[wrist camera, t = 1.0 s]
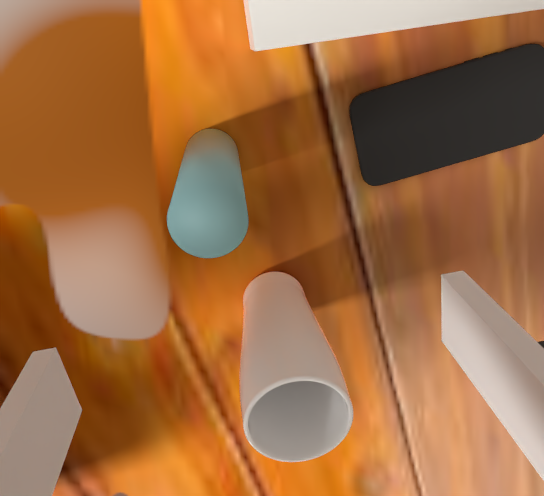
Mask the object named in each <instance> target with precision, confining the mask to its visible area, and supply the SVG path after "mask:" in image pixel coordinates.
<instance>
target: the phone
mask: <svg viewBox="0 0 544 496" xmlns="http://www.w3.org/2000/svg"><path fill="white" fill-rule="evenodd" d="M349 112H350V119H351V124H352V129H353V134H354V139H355V144H356V149H357V154H358V159H359V164H360V169H361V174H362V177H363V179H364V180H365V181H366V182H367V183H368V184H369V185H372V186H379V185H383V184H387V183H390V182H393V181H397V180H400V179H404V178H407V177H411V176H414V175H418V174H421V173H424V172H428V171H431V170H435V169H438V168H442V167H445V166H449V165H452V164H455V163H459V162H462V161H466V160H469V159H473V158H476V157H480V156H483V155H486V154H490V153H493V152H497V151H500V150H504V149H507V148H511V147H514V146H517V145H521V144H524V143H528V142H531V141H534V140H536V139H538V138H540V137H541V136H542V135H543V134H544V48H543V47H542V46H541V45H538V44H526V45H522V46H519V47H515V48H510V49H507V50H505V51H502V52H499V53H498V52H496V53H493V54H489V55H486V56H483V57H482V58H476V59H472V60H469V61H466V62H464V63H462V64H458V65H455V66H452V67H448V68H445V69H442V70H438V71H435V72H431V73H428V74H425V75H421V76H418V77H415V78H411V79H408V80H405V81H401V82H398V83H395V84H391V85H388V86H385V87H381V88H378V89H374V90H371V91H368V92H365V93H362V94H360V95H358V96H356V97H355V98H354V99H353V100H352V102H351V104H350V109H349Z"/></svg>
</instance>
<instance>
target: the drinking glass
mask: <svg viewBox="0 0 544 496" xmlns="http://www.w3.org/2000/svg"><path fill="white" fill-rule="evenodd" d="M243 309H244V315H243V332H242V346H241V359H240V380H239V382H240V403H241V412H242V420H243V428H244V433H245V435H246V438H247V440H248V441H249V443H250V444H251V445H252V447H253V448H254V449H255V450H257V451H258V452H259V453H261V454H262V455H264V456H266V457H268V458H271V459H274V460H278V461H284V462H301V461H307V460H311V459H314V458H317V457H320V456H322V455H324V454H326V453H328V452H329V451H331V450H332V449H334V448H335V447H336V446H337V445H339V444H340V443H341V442H342V440H343V439H344V438H345V437H346V435H347V434H348V432H349V430H350V427H351V425H352V421H353V407H352V403H351V400H350V396H349V392H348V389H347V385H346V382H345V379H344V376H343V374H342V371H341V368H340V366H339V363H338V361H337V358H336V356H335V354H334V352H333V350H332V348H331V346H330V344H329V342H328V340H327V338H326V336H325V334H324V332H323V331H322V329H321V327H320V325H319V323H318V321H317V319H316V317H315V315H314V313H313V311H312V309H311V307H310V305H309V303H308V301H307V299H306V296H305V293H304V290H303V288H302V286H301V284H300V283H299V282H298V281H297V280H296V279H295V278H294V277H292V276H291V275H289V274H287V273H283V272H276V271H274V272H267V273H264V274H261V275H259V276H257V277H256V278H255V279H253V280H252V281H251V282H250V283H249V285H248V286H247V288H246V290H245V292H244V296H243Z"/></svg>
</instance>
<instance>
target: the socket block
mask: <svg viewBox="0 0 544 496" xmlns="http://www.w3.org/2000/svg"><path fill="white" fill-rule="evenodd" d="M244 7H245V14H246V22H247V29H248V36H249V43H250V49H252V50H254V51H261V50H267V49H274V48H281V47H288V46H295V45H301V44H308V43H315V42H322V41H329V40H335V39H342V38H349V37H356V36H362V35H369V34H376V33H383V32H390V31H396V30H403V29H410V28H417V27H424V26H430V25H437V24H444V23H451V22H458V21H464V20H471V19H478V18H485V17H492V16H498V15H505V14H512V13H519V12H525V11H532V10H539V9H544V0H244Z"/></svg>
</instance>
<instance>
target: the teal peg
mask: <svg viewBox="0 0 544 496" xmlns="http://www.w3.org/2000/svg"><path fill="white" fill-rule="evenodd" d="M248 221H249V220H248V211H247V205H246V199H245V192H244V186H243V180H242V173H241V167H240V161H239V154H238V149H237V146H236V144H235V142H234V140H233V139H232V138H231V137H230V136H229V135H228V134H227V133H225V132H223V131H221V130H218V129H211V128H210V129H204V130H201V131H199V132H197V133H196V134H194V135H193V136H192V137H191V138H190V140H189V141H188V143H187V146H186V149H185V153H184V156H183V160H182V163H181V167H180V170H179V174H178V177H177V181H176V185H175V188H174V192H173V195H172V199H171V202H170V206H169V209H168V213H167V226H168V230H169V233H170V235H171V237H172V239H173V240H174V242H175V243H176V244H177V245H178V246H179V247H180V248H181V249H182V250H184V251H185V252H187V253H189V254H191V255H193V256H196V257H201V258H216V257H221V256H223V255H226V254H228V253H230V252H231V251H233V250H234V249H235V248H237V247H238V246H239V244H240V243H241V242H242V241H243V239H244V237H245V235H246V233H247V229H248Z"/></svg>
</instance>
